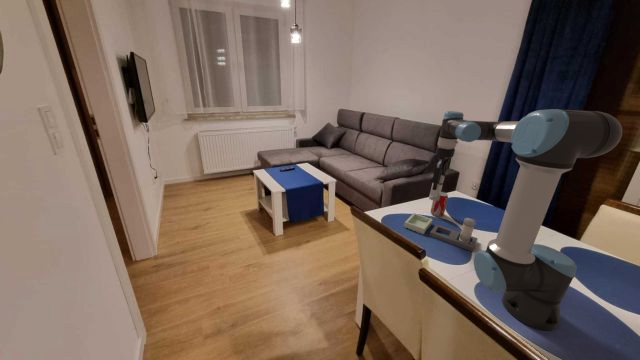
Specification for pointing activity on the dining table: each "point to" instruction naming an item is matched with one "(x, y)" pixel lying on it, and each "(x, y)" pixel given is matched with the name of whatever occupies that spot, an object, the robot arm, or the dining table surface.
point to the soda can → (439, 205)
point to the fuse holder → (457, 235)
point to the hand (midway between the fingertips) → (435, 193)
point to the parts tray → (418, 223)
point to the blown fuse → (436, 198)
